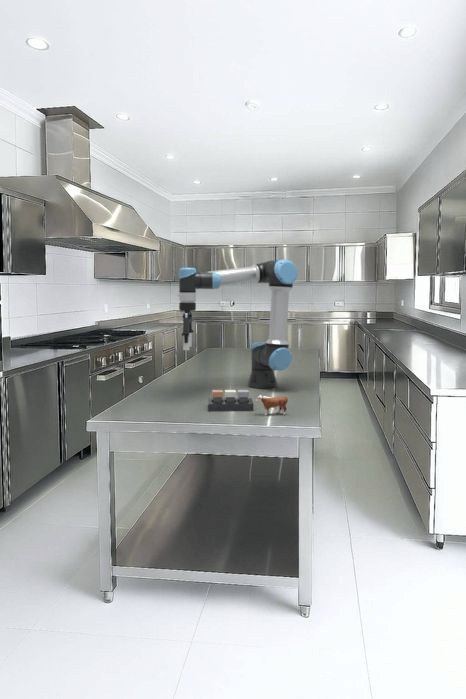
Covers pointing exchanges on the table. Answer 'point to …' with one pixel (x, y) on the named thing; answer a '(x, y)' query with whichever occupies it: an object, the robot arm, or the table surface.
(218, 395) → the tan cube
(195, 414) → the table surface
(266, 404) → the bull figurine
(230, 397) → the cream key
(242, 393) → the grey key
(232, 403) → the keypad base
